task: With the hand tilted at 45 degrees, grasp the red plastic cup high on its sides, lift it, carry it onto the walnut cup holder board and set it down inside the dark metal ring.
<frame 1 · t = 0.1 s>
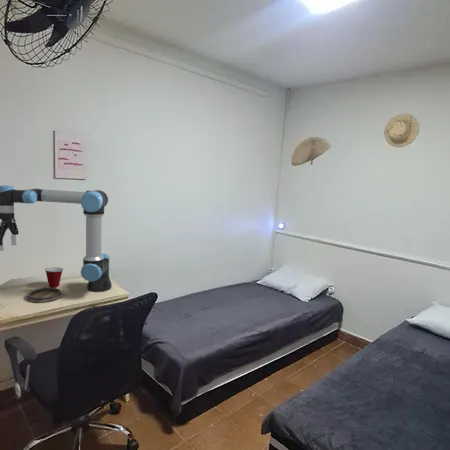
hand: (8, 247, 195), 28 cm above the table, tool pointing down, fingers open, 13 cm apart
cup holder: (44, 296, 197), on the table
plastic cup: (54, 286, 215), on the table
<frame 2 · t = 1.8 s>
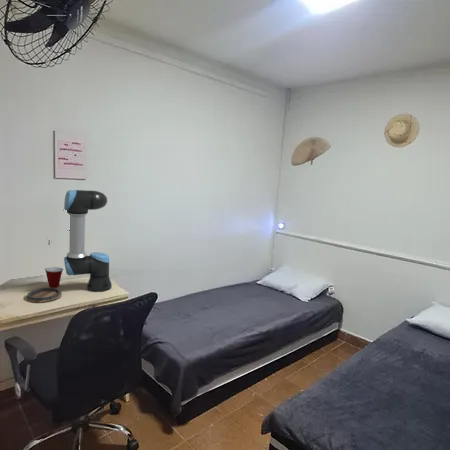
hand: (59, 244, 221), 26 cm above the table, tool tilted 45°, fingers open, 13 cm apart
nothing on the table moved.
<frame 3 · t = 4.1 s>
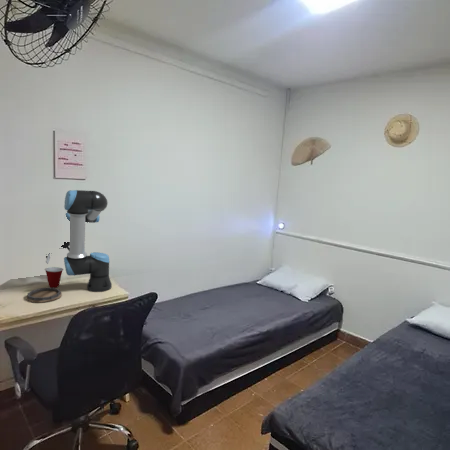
hand: (57, 263, 219), 14 cm above the table, tool tilted 45°, fingers open, 13 cm apart
nothing on the table moved.
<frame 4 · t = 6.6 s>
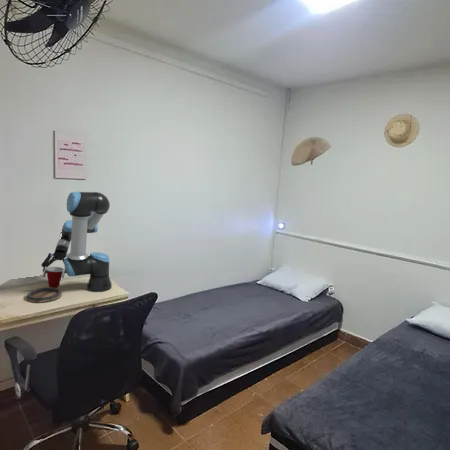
hand: (53, 276, 211), 7 cm above the table, tool tilted 45°, fingers closed on plastic cup, 11 cm apart
plastic cup: (54, 286, 215), on the table, touching gripper
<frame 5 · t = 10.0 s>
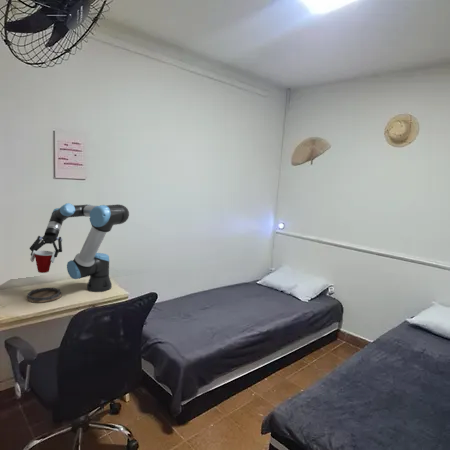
hand: (41, 261, 194), 22 cm above the table, tool tilted 45°, fingers closed on plastic cup, 11 cm apart
plastic cup: (43, 271, 198), point 15 cm above the table, touching gripper
when the fingers open (10 cm above the table, at t = 13.7 s): plastic cup drops 1 cm, resting on cup holder.
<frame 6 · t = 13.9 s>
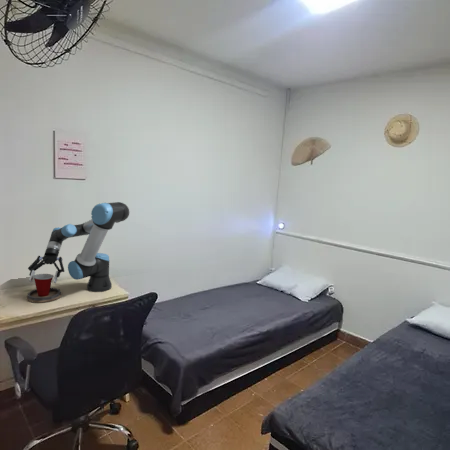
hand: (42, 281, 193), 10 cm above the table, tool tilted 45°, fingers open, 13 cm apart
plastic cup: (43, 295, 198), point 1 cm above the table, touching cup holder
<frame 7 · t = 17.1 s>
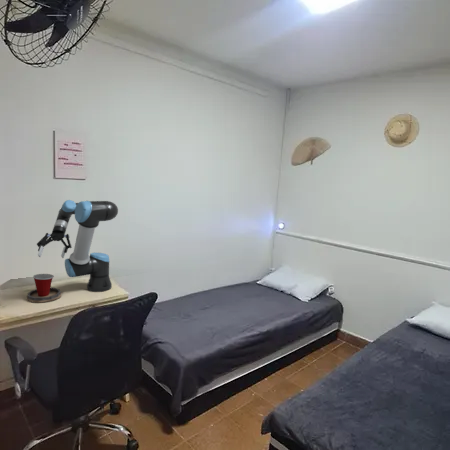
hand: (50, 256, 203), 22 cm above the table, tool tilted 45°, fingers open, 13 cm apart
nothing on the table moved.
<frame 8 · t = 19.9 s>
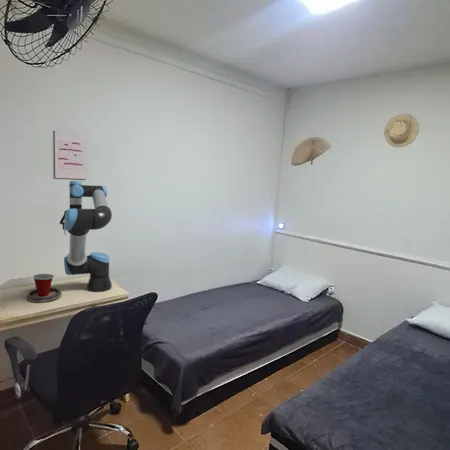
hand: (75, 234, 226), 32 cm above the table, tool pointing down, fingers open, 13 cm apart
nothing on the table moved.
at the end: plastic cup 0.6 cm off-centre on the cup holder, point 1.0 cm above the cup holder's base; plastic cup tilted 0°; the gripper is holding nothing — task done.
